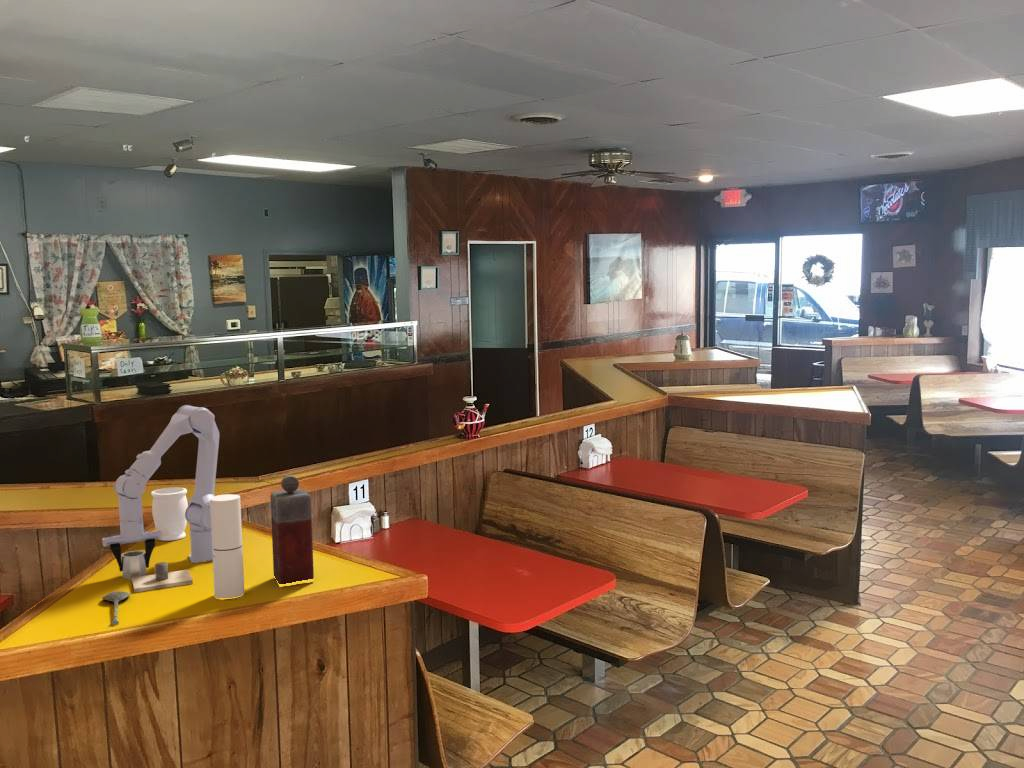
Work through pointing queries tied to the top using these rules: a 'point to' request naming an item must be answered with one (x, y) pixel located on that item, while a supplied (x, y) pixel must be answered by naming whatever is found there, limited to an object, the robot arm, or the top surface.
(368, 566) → the top surface
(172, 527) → the jar
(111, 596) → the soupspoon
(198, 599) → the top surface
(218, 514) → the cylindrical container
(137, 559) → the collar
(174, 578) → the board
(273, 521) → the ball-stopper bottle
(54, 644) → the top surface
